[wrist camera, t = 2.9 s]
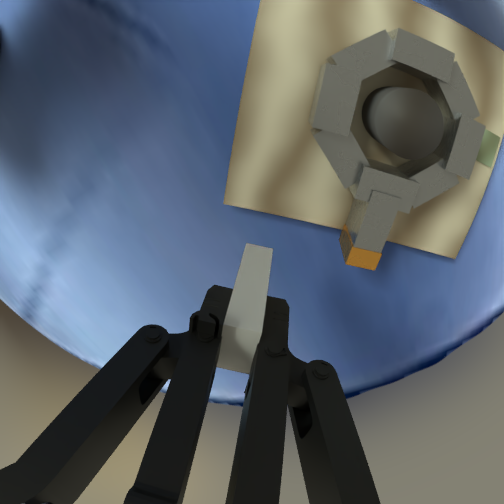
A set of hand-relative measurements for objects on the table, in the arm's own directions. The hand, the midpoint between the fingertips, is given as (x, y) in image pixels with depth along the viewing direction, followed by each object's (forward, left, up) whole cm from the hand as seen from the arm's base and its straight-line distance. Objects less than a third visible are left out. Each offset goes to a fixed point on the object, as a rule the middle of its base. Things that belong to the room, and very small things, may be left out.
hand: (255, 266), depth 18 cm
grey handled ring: (+8, +7, -10) cm, 15 cm away
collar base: (+8, +10, -12) cm, 18 cm away
